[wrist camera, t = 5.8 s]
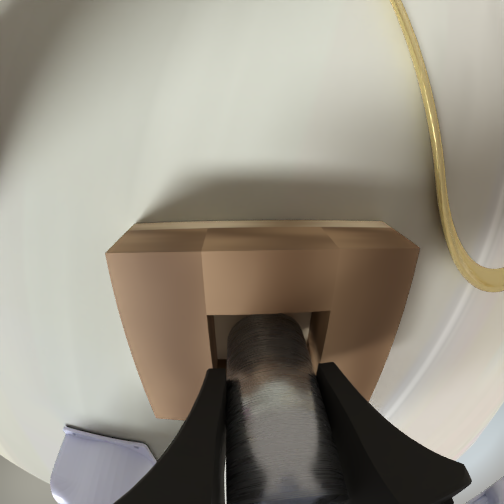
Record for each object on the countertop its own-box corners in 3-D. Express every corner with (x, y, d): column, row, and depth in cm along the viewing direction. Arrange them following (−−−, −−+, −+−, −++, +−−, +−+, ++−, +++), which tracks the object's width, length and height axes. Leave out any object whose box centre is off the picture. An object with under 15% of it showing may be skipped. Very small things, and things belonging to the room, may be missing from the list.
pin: (229, 368, 13) (230, 523, 6) (225, 312, 12) (221, 502, 5) (299, 365, 14) (333, 512, 6) (307, 309, 12) (365, 484, 5)
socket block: (165, 375, 17) (156, 418, 13) (134, 223, 13) (105, 253, 9) (349, 367, 17) (366, 407, 14) (382, 221, 13) (420, 247, 10)
